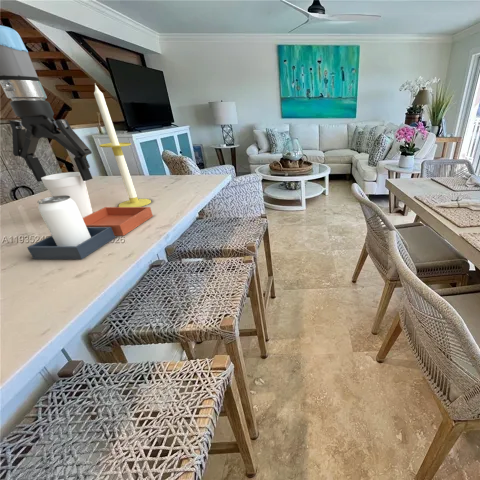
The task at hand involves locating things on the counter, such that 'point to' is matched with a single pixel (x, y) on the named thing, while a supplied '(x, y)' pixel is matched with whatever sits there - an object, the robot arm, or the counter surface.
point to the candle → (118, 154)
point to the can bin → (52, 251)
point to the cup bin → (118, 218)
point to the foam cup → (70, 189)
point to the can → (63, 220)
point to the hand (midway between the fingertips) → (65, 180)
